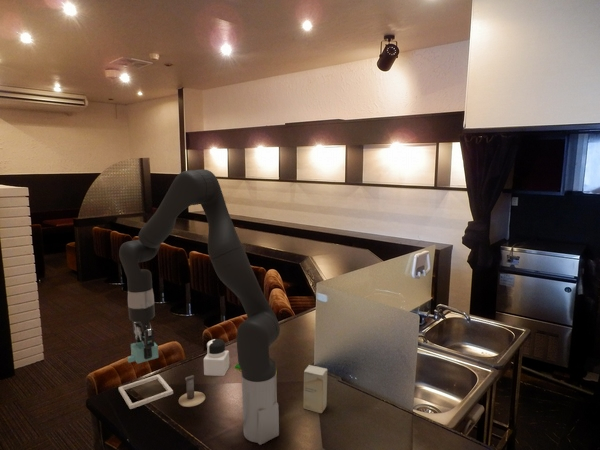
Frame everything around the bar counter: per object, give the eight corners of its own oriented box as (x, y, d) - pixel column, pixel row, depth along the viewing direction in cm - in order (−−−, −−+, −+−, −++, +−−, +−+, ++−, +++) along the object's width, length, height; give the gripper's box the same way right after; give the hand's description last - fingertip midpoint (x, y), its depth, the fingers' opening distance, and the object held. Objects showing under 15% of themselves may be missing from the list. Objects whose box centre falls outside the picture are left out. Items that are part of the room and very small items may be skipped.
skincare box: (302, 409, 118) (302, 371, 117) (308, 401, 123) (308, 364, 121) (322, 414, 116) (322, 375, 114) (327, 405, 120) (327, 368, 118)
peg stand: (209, 403, 122) (208, 379, 120) (184, 413, 117) (183, 388, 116) (198, 392, 128) (197, 368, 127) (174, 401, 123) (173, 377, 122)
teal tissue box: (131, 365, 119) (130, 353, 119) (125, 357, 124) (124, 345, 124) (158, 357, 124) (157, 345, 124) (151, 350, 129) (151, 338, 129)
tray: (173, 397, 125) (173, 390, 125) (130, 412, 117) (129, 406, 117) (159, 380, 135) (158, 374, 135) (118, 393, 127) (118, 387, 127)
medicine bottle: (229, 368, 143) (228, 337, 141) (224, 379, 136) (222, 346, 134) (210, 367, 143) (209, 336, 142) (203, 378, 136) (202, 345, 135)
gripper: (122, 299, 125) (125, 349, 128) (135, 312, 114) (139, 366, 117) (146, 295, 130) (149, 343, 132) (161, 307, 119) (164, 359, 121)
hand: (144, 353), depth 125 cm, fingers closed on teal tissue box, 6 cm apart
